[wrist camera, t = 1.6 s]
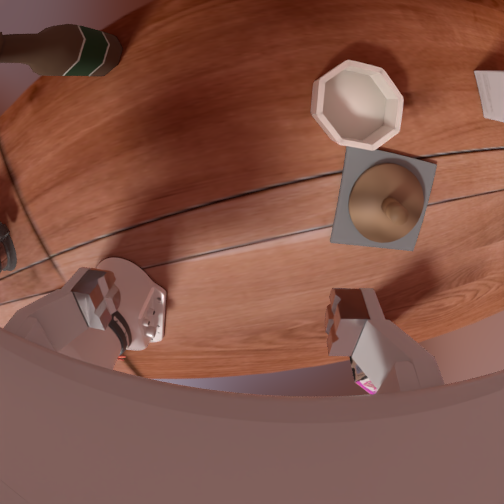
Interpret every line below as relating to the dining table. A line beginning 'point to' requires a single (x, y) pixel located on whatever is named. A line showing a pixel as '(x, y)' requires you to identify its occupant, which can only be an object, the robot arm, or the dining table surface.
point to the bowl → (357, 105)
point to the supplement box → (491, 93)
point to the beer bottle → (63, 51)
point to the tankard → (6, 250)
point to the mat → (352, 169)
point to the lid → (385, 202)
